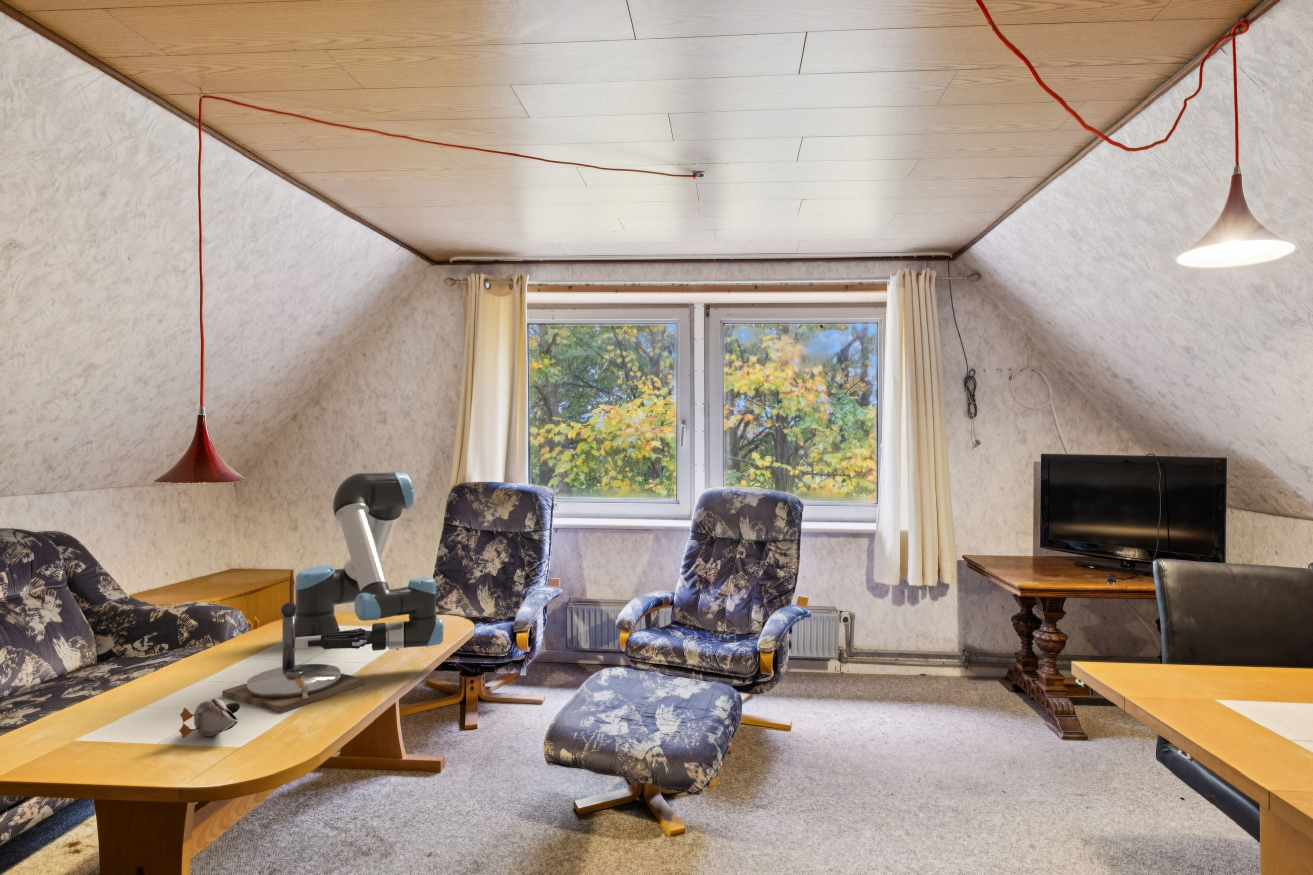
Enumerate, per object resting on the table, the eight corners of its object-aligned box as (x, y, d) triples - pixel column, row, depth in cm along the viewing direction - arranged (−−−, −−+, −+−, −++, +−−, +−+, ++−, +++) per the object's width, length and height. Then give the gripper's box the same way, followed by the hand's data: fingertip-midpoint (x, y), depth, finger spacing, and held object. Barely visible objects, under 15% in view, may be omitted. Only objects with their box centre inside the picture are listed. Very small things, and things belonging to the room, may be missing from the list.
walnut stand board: (222, 696, 190) (222, 678, 190) (306, 670, 211) (306, 654, 211) (281, 712, 178) (281, 694, 178) (364, 684, 199) (364, 667, 199)
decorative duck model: (227, 688, 177) (277, 692, 172) (225, 721, 176) (275, 726, 172) (168, 703, 163) (222, 708, 158) (166, 739, 162) (220, 745, 157)
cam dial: (349, 686, 192) (349, 611, 192) (252, 704, 179) (253, 623, 179) (330, 664, 210) (330, 596, 211) (241, 678, 198) (242, 606, 198)
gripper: (386, 655, 204) (291, 664, 197) (387, 642, 217) (298, 650, 210) (386, 628, 204) (291, 635, 197) (387, 617, 217) (298, 623, 210)
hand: (295, 643), depth 203 cm, fingers closed, pressing on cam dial
